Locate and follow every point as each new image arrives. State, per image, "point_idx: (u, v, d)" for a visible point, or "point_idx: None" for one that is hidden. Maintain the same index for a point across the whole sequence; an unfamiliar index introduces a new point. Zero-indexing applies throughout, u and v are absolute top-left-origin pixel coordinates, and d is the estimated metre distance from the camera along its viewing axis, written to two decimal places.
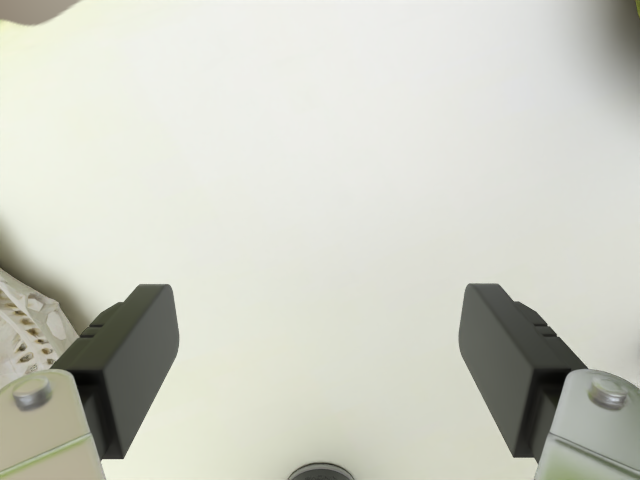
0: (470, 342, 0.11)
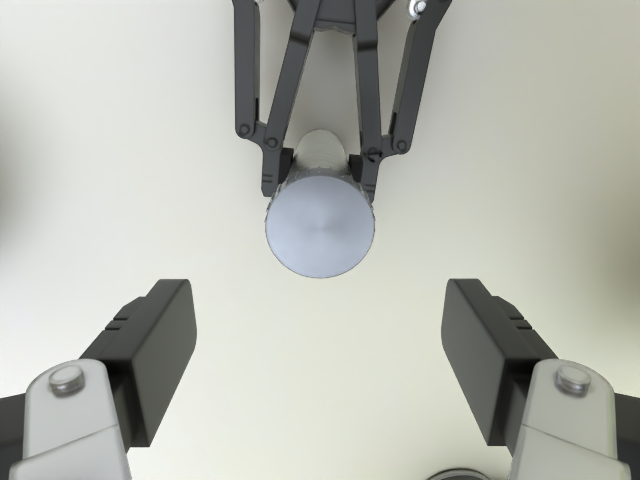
0: (451, 335, 0.11)
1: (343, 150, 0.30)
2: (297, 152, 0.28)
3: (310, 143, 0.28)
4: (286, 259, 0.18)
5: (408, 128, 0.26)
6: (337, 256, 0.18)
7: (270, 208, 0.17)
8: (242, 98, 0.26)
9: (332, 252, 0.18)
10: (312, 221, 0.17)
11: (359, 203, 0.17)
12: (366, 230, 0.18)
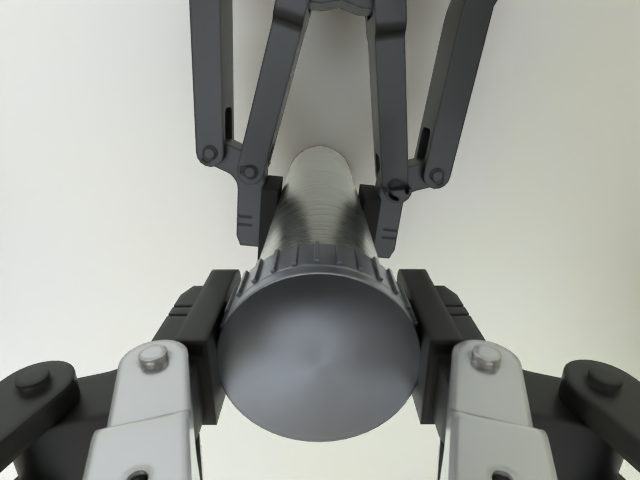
0: None
1: (351, 178, 0.22)
2: (287, 184, 0.20)
3: (305, 172, 0.19)
4: (257, 413, 0.10)
5: (447, 152, 0.18)
6: (350, 408, 0.10)
7: (223, 329, 0.09)
8: (205, 108, 0.18)
9: (341, 402, 0.10)
10: (304, 351, 0.09)
11: (394, 321, 0.09)
12: (406, 366, 0.09)
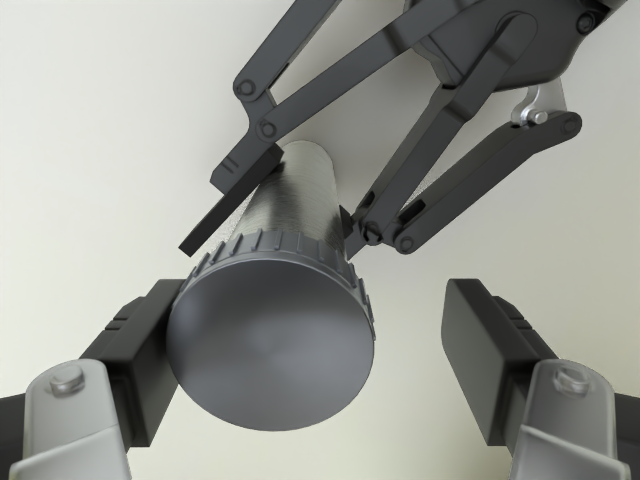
0: (451, 335, 0.11)
1: None
2: (287, 162, 0.19)
3: (310, 164, 0.19)
4: (267, 422, 0.10)
5: (427, 231, 0.20)
6: (332, 368, 0.09)
7: (177, 378, 0.09)
8: (272, 49, 0.17)
9: (320, 368, 0.09)
10: (248, 351, 0.09)
11: (286, 274, 0.08)
12: (337, 302, 0.09)
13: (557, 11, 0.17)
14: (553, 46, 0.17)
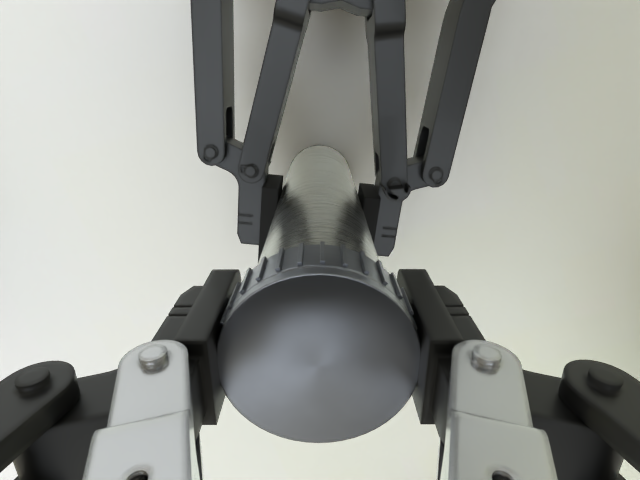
0: None
1: (351, 177, 0.22)
2: (287, 183, 0.20)
3: (305, 171, 0.20)
4: (366, 423, 0.10)
5: (446, 151, 0.18)
6: (380, 346, 0.09)
7: (267, 429, 0.10)
8: (206, 108, 0.18)
9: (369, 352, 0.09)
10: (300, 375, 0.09)
11: (276, 296, 0.09)
12: (335, 290, 0.09)
13: None
14: None
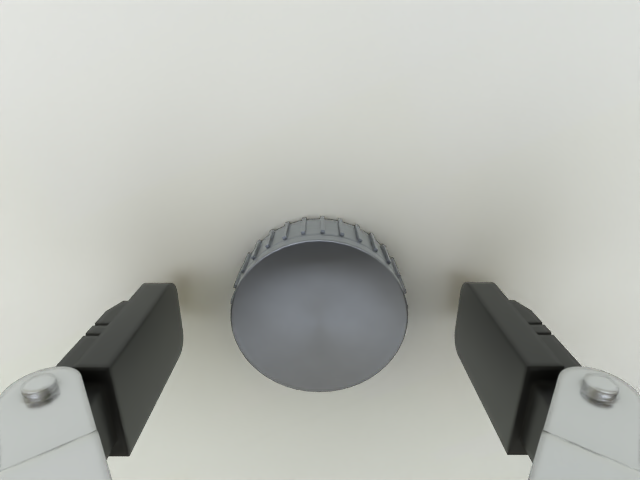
0: (466, 340, 0.11)
1: None
2: None
3: None
4: (360, 373, 0.11)
5: None
6: (371, 303, 0.11)
7: (274, 379, 0.12)
8: None
9: (362, 310, 0.11)
10: (303, 330, 0.11)
11: (283, 259, 0.10)
12: (333, 254, 0.10)
13: None
14: None
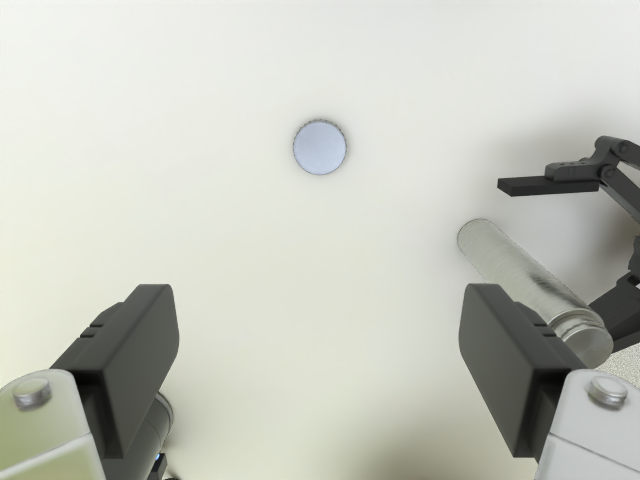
0: (470, 341, 0.11)
1: None
2: (523, 250, 0.34)
3: None
4: (332, 167, 0.37)
5: None
6: (335, 142, 0.36)
7: (306, 170, 0.37)
8: None
9: (332, 144, 0.36)
10: (315, 152, 0.37)
11: (309, 128, 0.36)
12: (323, 126, 0.36)
13: None
14: None
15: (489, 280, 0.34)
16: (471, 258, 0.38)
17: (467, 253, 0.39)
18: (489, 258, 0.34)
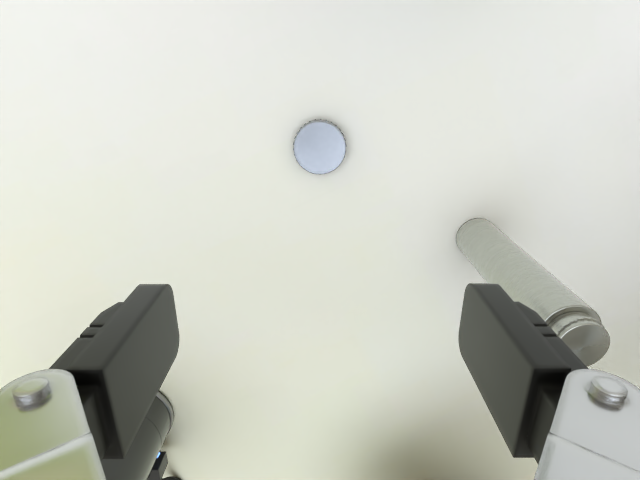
0: (470, 342, 0.11)
1: None
2: None
3: None
4: (332, 167, 0.38)
5: None
6: (334, 142, 0.37)
7: (306, 169, 0.38)
8: None
9: (332, 144, 0.37)
10: (315, 151, 0.37)
11: (309, 127, 0.36)
12: (323, 126, 0.36)
13: None
14: None
15: (487, 278, 0.34)
16: (470, 257, 0.38)
17: (466, 252, 0.39)
18: (488, 257, 0.35)
